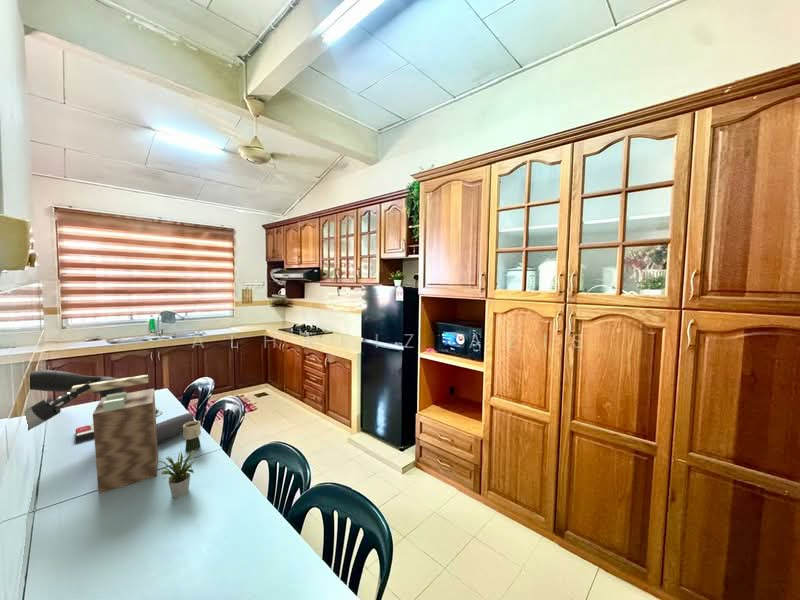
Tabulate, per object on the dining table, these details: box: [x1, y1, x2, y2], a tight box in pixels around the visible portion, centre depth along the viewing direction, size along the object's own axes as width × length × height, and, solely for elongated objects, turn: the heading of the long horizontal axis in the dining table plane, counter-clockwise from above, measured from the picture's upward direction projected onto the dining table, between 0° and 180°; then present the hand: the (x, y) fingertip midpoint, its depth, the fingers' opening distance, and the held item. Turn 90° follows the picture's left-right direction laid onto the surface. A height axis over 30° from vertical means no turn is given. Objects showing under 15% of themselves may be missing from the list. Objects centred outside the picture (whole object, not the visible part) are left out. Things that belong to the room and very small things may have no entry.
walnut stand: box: [92, 388, 159, 495], centre depth 134 cm, size 18×22×32 cm
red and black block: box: [74, 423, 95, 444], centre depth 169 cm, size 11×4×15 cm
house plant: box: [154, 449, 197, 499], centre depth 119 cm, size 14×14×16 cm
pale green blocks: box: [103, 391, 128, 412], centre depth 127 cm, size 6×12×4 cm, turn 37°
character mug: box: [182, 420, 202, 453], centre depth 152 cm, size 11×7×13 cm, turn 58°
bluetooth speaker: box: [156, 412, 195, 445], centre depth 163 cm, size 23×9×10 cm, turn 154°
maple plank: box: [72, 374, 149, 395], centre depth 134 cm, size 24×4×3 cm, turn 127°
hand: (90, 384), depth 130 cm, fingers closed on maple plank, 3 cm apart
